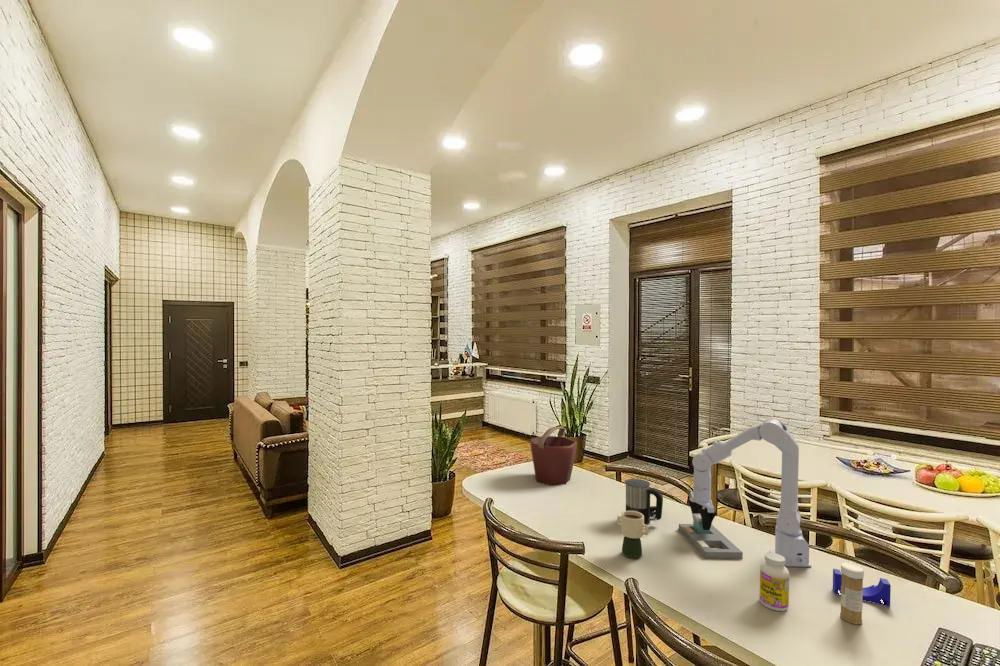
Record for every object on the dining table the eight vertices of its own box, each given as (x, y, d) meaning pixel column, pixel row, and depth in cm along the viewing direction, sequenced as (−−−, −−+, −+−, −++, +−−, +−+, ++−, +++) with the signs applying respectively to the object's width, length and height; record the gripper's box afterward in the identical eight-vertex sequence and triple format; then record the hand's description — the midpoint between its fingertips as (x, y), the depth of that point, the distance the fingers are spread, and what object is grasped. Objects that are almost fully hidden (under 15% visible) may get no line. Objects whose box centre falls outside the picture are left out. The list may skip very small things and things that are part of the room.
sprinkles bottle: (841, 611, 118) (842, 560, 118) (863, 619, 115) (864, 566, 115) (838, 619, 115) (839, 566, 115) (861, 628, 112) (862, 573, 112)
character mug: (653, 557, 145) (653, 516, 145) (642, 565, 140) (643, 523, 140) (622, 545, 153) (623, 507, 153) (611, 552, 148) (611, 512, 148)
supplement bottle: (755, 603, 121) (756, 555, 121) (764, 594, 125) (765, 548, 125) (783, 615, 116) (784, 565, 116) (792, 606, 120) (793, 557, 120)
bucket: (554, 469, 236) (555, 421, 236) (587, 480, 219) (588, 428, 219) (519, 478, 220) (520, 427, 220) (552, 491, 203) (553, 435, 203)
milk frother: (624, 524, 170) (625, 485, 170) (623, 508, 185) (624, 472, 185) (664, 529, 166) (665, 488, 166) (660, 512, 182) (661, 475, 181)
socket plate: (742, 558, 145) (742, 551, 145) (705, 558, 145) (705, 550, 145) (711, 529, 166) (711, 523, 166) (678, 529, 166) (678, 523, 166)
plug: (710, 538, 159) (711, 518, 159) (697, 538, 159) (698, 518, 159) (704, 532, 164) (704, 513, 164) (691, 532, 164) (692, 513, 164)
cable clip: (884, 598, 125) (885, 576, 125) (890, 607, 121) (890, 584, 121) (831, 586, 130) (831, 566, 130) (834, 595, 126) (835, 573, 126)
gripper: (682, 479, 168) (681, 516, 168) (700, 493, 154) (699, 534, 154) (701, 480, 168) (700, 516, 169) (720, 494, 154) (720, 534, 154)
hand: (701, 525), depth 161 cm, fingers open, 7 cm apart
